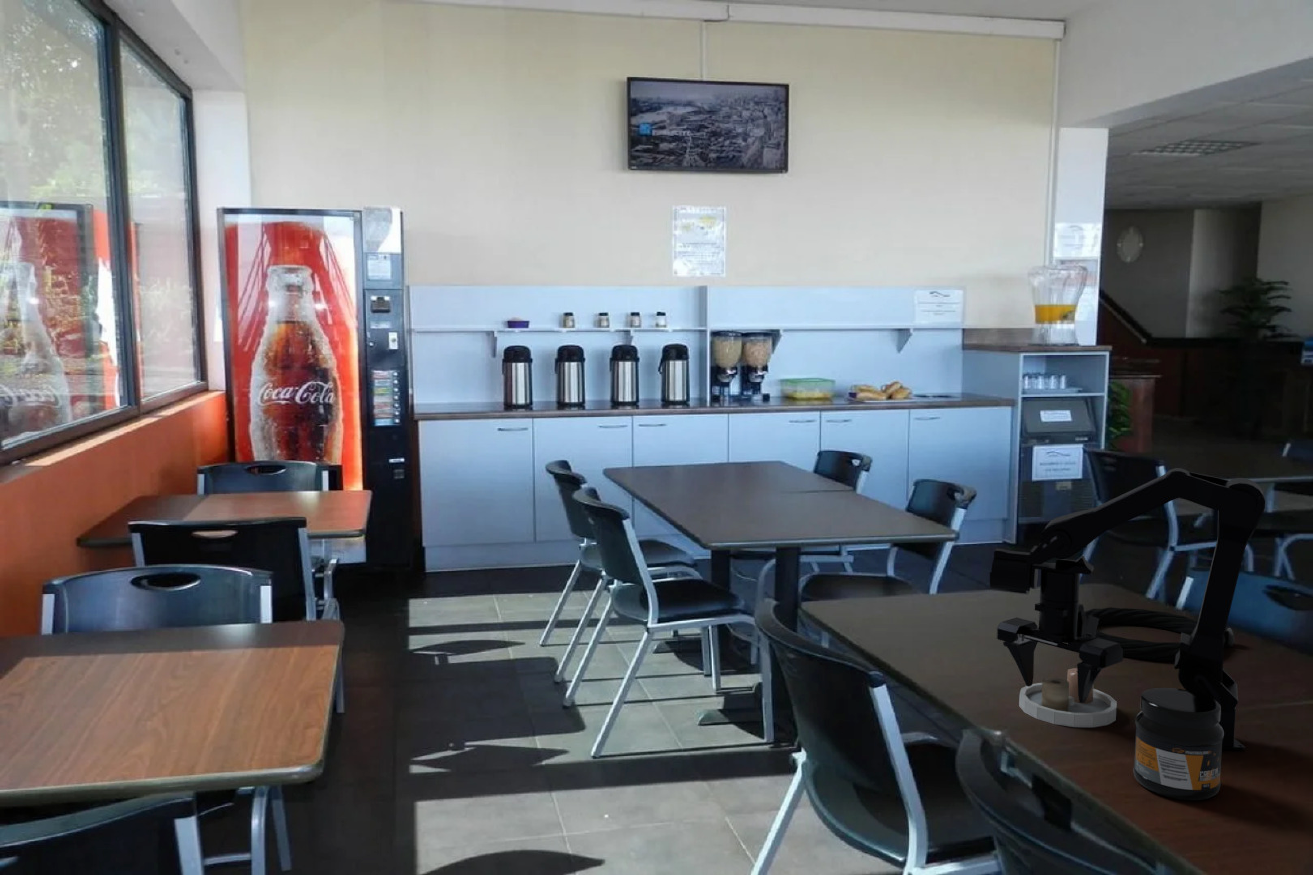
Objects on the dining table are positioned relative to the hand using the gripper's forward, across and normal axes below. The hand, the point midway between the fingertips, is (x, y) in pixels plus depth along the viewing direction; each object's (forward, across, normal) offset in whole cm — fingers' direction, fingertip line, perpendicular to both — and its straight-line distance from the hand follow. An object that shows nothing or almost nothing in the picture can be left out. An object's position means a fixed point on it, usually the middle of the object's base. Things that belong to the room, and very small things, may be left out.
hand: (1055, 693), depth 161 cm
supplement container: (+4, -24, +10) cm, 26 cm away
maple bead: (+2, 0, 0) cm, 3 cm away
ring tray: (+4, 0, -4) cm, 5 cm away
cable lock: (+4, +10, -50) cm, 52 cm away
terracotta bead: (+2, 0, -7) cm, 8 cm away
